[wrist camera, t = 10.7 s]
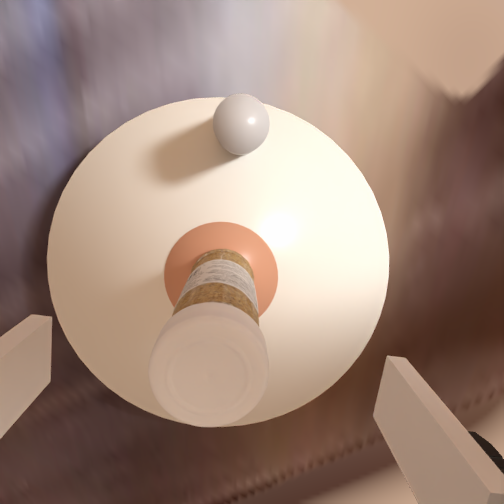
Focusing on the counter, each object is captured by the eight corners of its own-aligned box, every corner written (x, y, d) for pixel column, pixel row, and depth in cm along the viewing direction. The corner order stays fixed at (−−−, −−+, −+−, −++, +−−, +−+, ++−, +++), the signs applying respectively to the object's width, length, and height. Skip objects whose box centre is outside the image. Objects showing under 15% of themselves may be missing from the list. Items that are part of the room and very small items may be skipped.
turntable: (407, 130, 28) (467, 118, 21) (345, 420, 33) (376, 491, 26) (68, 78, 26) (5, 45, 19) (57, 393, 32) (4, 461, 24)
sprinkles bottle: (222, 321, 28) (209, 455, 15) (176, 278, 27) (118, 378, 14) (268, 277, 27) (296, 376, 14) (222, 232, 27) (206, 292, 14)
